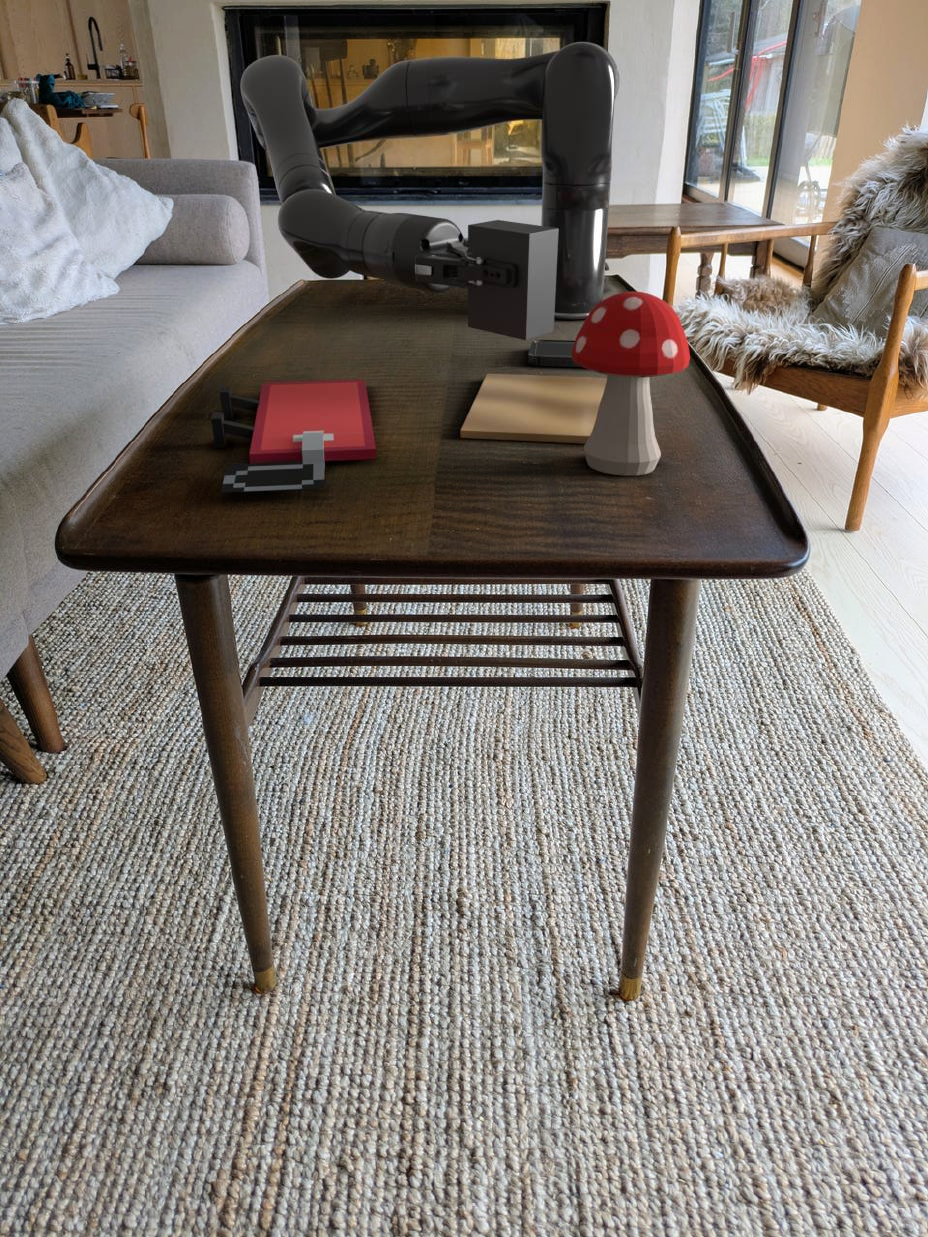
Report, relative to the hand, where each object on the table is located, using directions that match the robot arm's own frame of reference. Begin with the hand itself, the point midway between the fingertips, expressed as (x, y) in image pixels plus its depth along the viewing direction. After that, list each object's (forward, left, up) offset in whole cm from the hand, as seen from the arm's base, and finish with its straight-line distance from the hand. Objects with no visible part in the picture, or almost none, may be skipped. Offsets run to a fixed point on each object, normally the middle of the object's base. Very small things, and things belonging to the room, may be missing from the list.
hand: (532, 272), depth 90 cm
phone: (-17, +6, -13) cm, 23 cm away
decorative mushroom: (+17, +10, -13) cm, 23 cm away
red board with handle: (+14, -21, -13) cm, 29 cm away
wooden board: (+2, +3, -13) cm, 14 cm away
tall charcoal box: (-1, -2, -6) cm, 7 cm away
